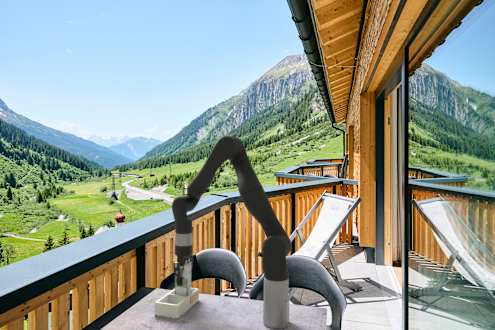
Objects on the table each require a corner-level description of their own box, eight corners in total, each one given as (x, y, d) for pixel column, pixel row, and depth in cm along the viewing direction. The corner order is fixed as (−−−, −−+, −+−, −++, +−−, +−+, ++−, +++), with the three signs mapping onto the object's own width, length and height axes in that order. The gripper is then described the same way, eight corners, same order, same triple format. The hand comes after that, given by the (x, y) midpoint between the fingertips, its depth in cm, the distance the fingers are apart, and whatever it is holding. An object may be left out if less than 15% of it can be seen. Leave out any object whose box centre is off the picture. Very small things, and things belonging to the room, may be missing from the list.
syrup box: (191, 294, 155) (191, 261, 154) (187, 300, 149) (188, 265, 148) (178, 294, 155) (178, 260, 155) (174, 299, 149) (174, 264, 149)
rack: (199, 300, 155) (199, 288, 155) (178, 319, 137) (178, 306, 137) (177, 297, 158) (177, 285, 158) (154, 315, 140) (154, 302, 140)
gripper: (184, 247, 144) (183, 289, 144) (199, 240, 157) (198, 278, 158) (167, 246, 146) (166, 287, 146) (183, 238, 160) (183, 276, 160)
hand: (183, 282), depth 152 cm, fingers closed on syrup box, 6 cm apart
